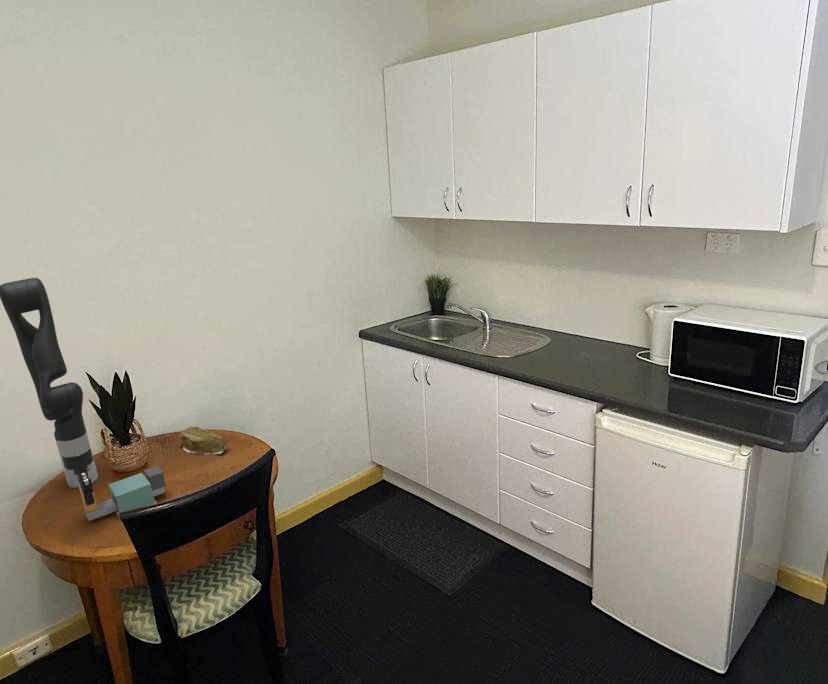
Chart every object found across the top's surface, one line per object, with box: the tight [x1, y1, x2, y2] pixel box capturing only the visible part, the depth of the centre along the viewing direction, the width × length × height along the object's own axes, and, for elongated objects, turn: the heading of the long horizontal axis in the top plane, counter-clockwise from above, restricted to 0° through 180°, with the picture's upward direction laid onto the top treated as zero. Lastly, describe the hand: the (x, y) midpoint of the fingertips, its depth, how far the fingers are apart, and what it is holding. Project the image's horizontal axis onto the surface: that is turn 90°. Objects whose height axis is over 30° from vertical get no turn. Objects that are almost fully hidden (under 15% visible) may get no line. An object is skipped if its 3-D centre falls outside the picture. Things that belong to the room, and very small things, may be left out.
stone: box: [177, 425, 227, 455], centre depth 217 cm, size 22×10×7 cm, turn 63°
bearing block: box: [108, 472, 158, 516], centre depth 182 cm, size 11×11×8 cm
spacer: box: [144, 465, 167, 491], centre depth 185 cm, size 6×4×5 cm, turn 39°
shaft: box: [78, 483, 166, 522], centre depth 179 cm, size 4×22×12 cm, turn 129°
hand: (89, 501), depth 174 cm, fingers closed on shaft, 3 cm apart
